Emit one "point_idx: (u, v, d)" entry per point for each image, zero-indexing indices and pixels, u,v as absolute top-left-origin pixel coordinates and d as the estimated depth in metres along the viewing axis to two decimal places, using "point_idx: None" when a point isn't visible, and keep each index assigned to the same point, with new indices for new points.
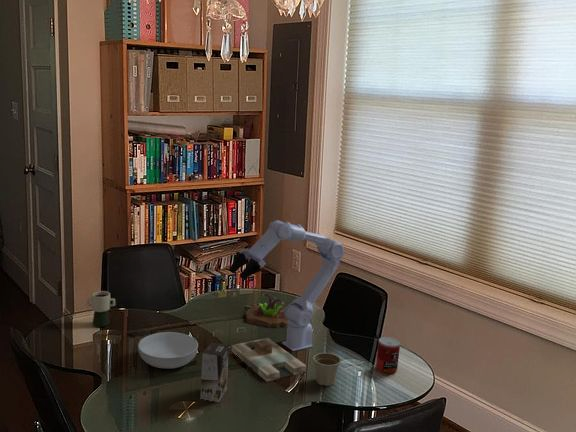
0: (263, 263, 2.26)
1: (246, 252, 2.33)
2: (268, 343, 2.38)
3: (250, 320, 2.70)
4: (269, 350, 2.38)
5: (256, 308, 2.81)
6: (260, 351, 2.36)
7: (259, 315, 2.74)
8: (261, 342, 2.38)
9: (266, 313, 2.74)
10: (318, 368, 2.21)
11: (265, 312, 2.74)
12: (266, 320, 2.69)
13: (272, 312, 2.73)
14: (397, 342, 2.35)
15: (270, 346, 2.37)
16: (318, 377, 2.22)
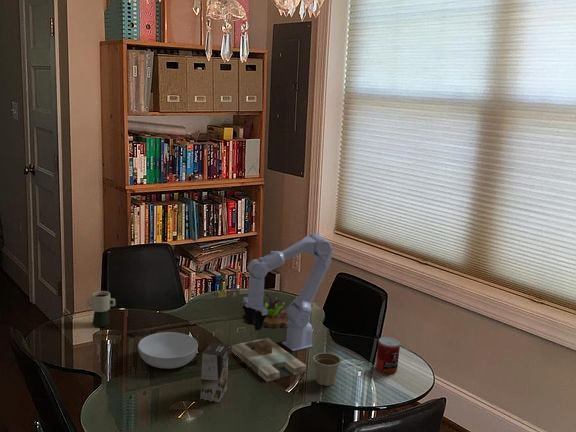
0: (265, 311, 2.36)
1: None
2: (268, 343, 2.38)
3: None
4: (269, 350, 2.38)
5: None
6: (260, 351, 2.36)
7: None
8: (261, 342, 2.38)
9: None
10: (318, 368, 2.21)
11: None
12: (266, 320, 2.69)
13: (273, 312, 2.73)
14: (397, 342, 2.35)
15: (270, 346, 2.37)
16: (318, 377, 2.22)
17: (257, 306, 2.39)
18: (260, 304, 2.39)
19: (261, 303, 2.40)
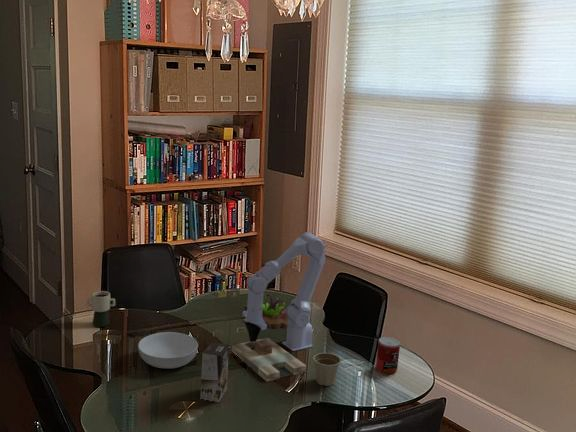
0: (264, 326, 2.37)
1: None
2: (268, 343, 2.38)
3: None
4: (269, 350, 2.38)
5: None
6: (260, 351, 2.36)
7: None
8: (261, 342, 2.38)
9: (267, 313, 2.73)
10: (318, 368, 2.21)
11: (266, 312, 2.73)
12: (267, 320, 2.69)
13: (273, 313, 2.73)
14: (397, 342, 2.35)
15: (270, 346, 2.37)
16: (318, 377, 2.22)
17: (256, 321, 2.40)
18: (259, 319, 2.41)
19: (260, 318, 2.41)
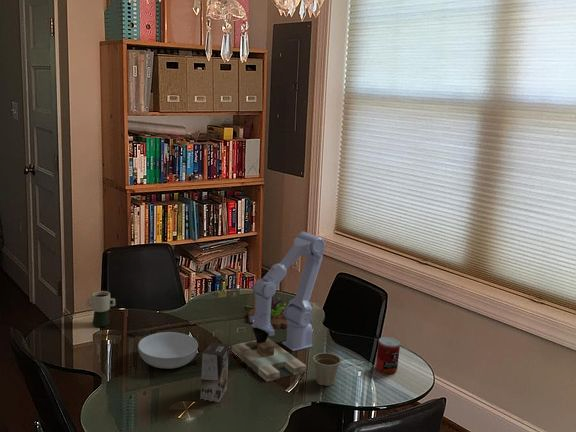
0: (272, 332, 2.33)
1: None
2: (270, 345, 2.37)
3: None
4: (271, 351, 2.36)
5: None
6: (262, 352, 2.35)
7: None
8: (263, 344, 2.37)
9: None
10: (318, 368, 2.21)
11: None
12: None
13: (274, 313, 2.72)
14: (397, 342, 2.35)
15: (272, 348, 2.36)
16: (318, 377, 2.22)
17: (264, 326, 2.35)
18: (267, 324, 2.36)
19: (268, 323, 2.37)
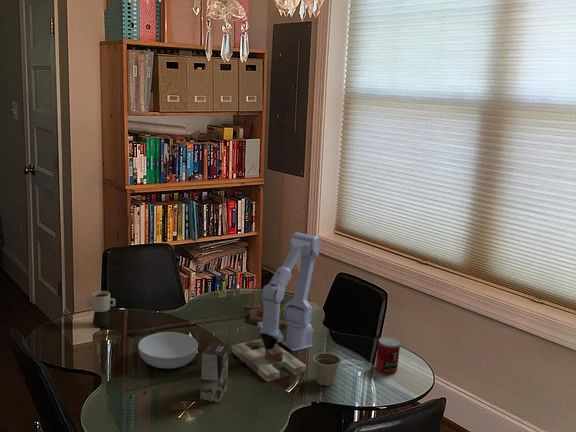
0: (281, 338, 2.28)
1: None
2: (278, 351, 2.32)
3: (252, 320, 2.70)
4: (280, 358, 2.32)
5: (261, 308, 2.80)
6: (270, 359, 2.30)
7: (262, 315, 2.74)
8: (272, 350, 2.32)
9: None
10: (318, 368, 2.21)
11: None
12: None
13: None
14: (397, 342, 2.35)
15: (281, 354, 2.31)
16: (318, 377, 2.22)
17: (272, 332, 2.31)
18: (275, 330, 2.32)
19: (276, 329, 2.32)
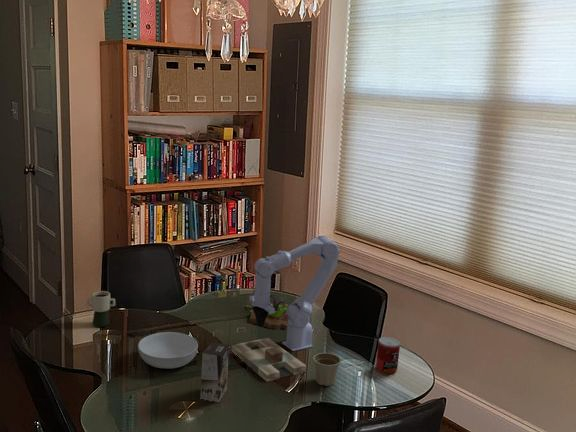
0: (272, 310, 2.38)
1: None
2: (278, 351, 2.32)
3: (252, 320, 2.70)
4: (280, 358, 2.32)
5: None
6: (270, 359, 2.30)
7: None
8: (272, 350, 2.32)
9: (269, 314, 2.73)
10: (318, 368, 2.21)
11: (268, 313, 2.73)
12: (267, 321, 2.68)
13: (275, 313, 2.72)
14: (397, 342, 2.35)
15: (281, 354, 2.31)
16: (318, 377, 2.22)
17: (264, 305, 2.40)
18: (267, 303, 2.41)
19: (268, 302, 2.42)
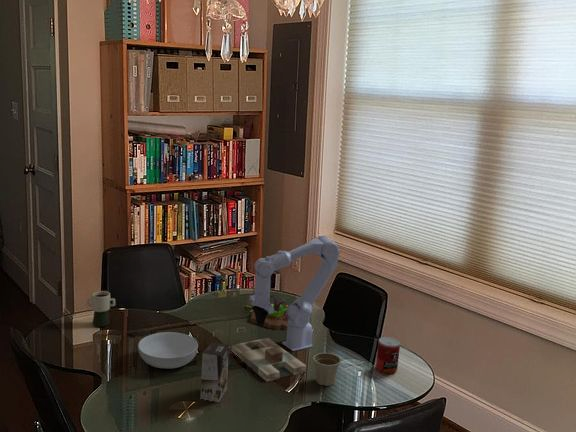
0: (272, 310, 2.38)
1: None
2: (278, 351, 2.32)
3: (252, 320, 2.71)
4: (280, 358, 2.32)
5: None
6: (270, 359, 2.30)
7: None
8: (272, 350, 2.32)
9: (270, 314, 2.73)
10: (318, 368, 2.21)
11: None
12: (268, 321, 2.68)
13: (276, 314, 2.71)
14: (397, 342, 2.35)
15: (281, 354, 2.31)
16: (318, 377, 2.22)
17: (263, 304, 2.41)
18: (266, 302, 2.41)
19: (267, 301, 2.42)
